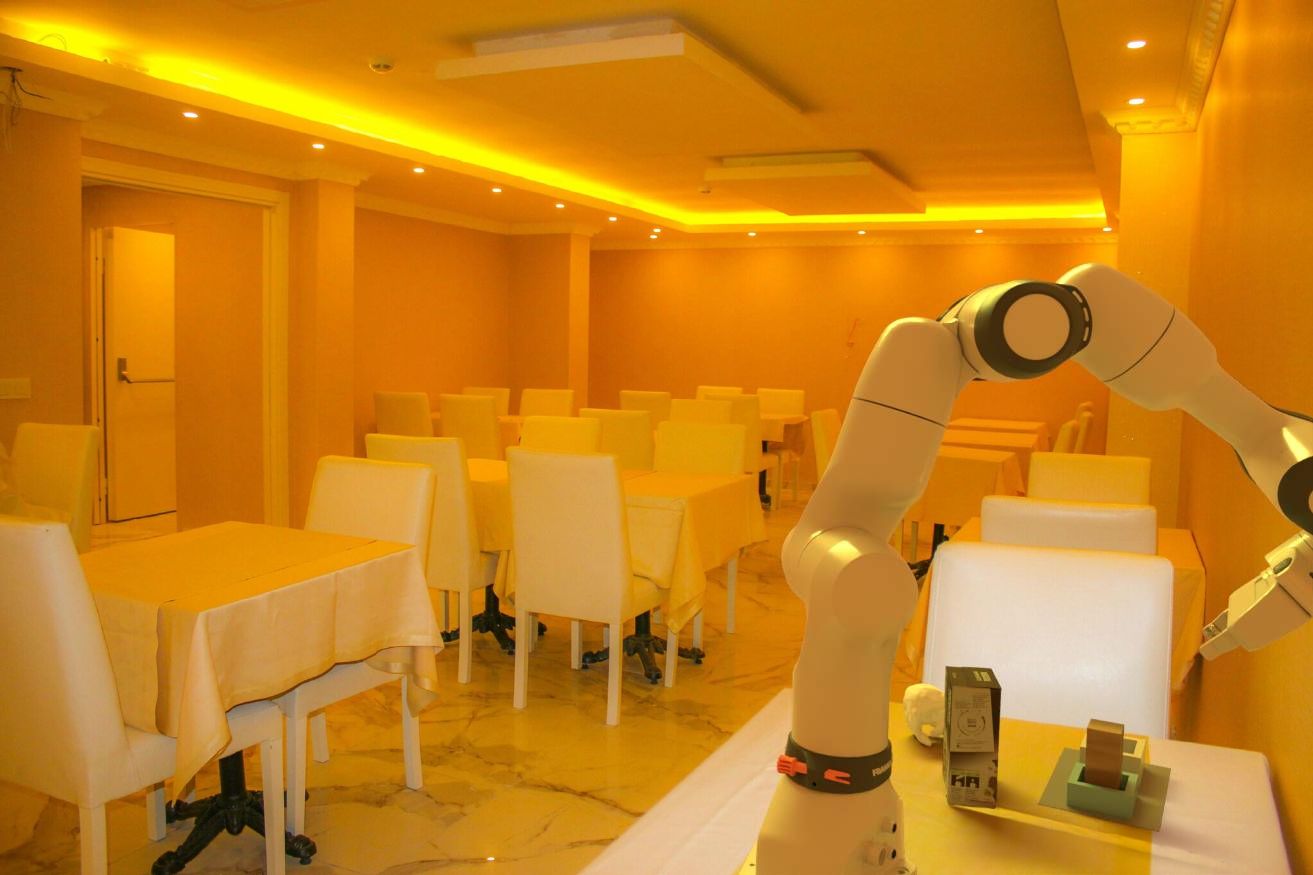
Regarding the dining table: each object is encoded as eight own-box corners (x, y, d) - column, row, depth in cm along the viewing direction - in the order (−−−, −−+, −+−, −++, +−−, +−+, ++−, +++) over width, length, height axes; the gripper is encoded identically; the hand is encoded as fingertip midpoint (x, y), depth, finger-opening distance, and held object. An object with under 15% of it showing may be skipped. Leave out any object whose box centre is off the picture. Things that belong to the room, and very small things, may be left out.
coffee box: (998, 809, 127) (1002, 688, 126) (946, 804, 128) (950, 684, 127) (988, 780, 136) (993, 666, 135) (940, 776, 137) (944, 663, 136)
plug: (1117, 810, 125) (1121, 734, 124) (1083, 802, 127) (1086, 727, 126) (1120, 798, 128) (1124, 724, 127) (1087, 791, 130) (1091, 718, 129)
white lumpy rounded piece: (901, 677, 153) (976, 683, 153) (894, 730, 153) (969, 736, 154) (914, 690, 147) (992, 697, 147) (907, 745, 147) (984, 752, 148)
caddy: (1158, 839, 119) (1160, 799, 119) (1037, 811, 127) (1039, 773, 126) (1170, 775, 138) (1172, 740, 138) (1064, 753, 145) (1065, 721, 145)
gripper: (1281, 543, 124) (1189, 607, 130) (1287, 570, 107) (1180, 643, 113) (1321, 583, 122) (1225, 646, 128) (1334, 617, 105) (1222, 688, 111)
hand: (1204, 645), depth 120 cm, fingers open, 8 cm apart
